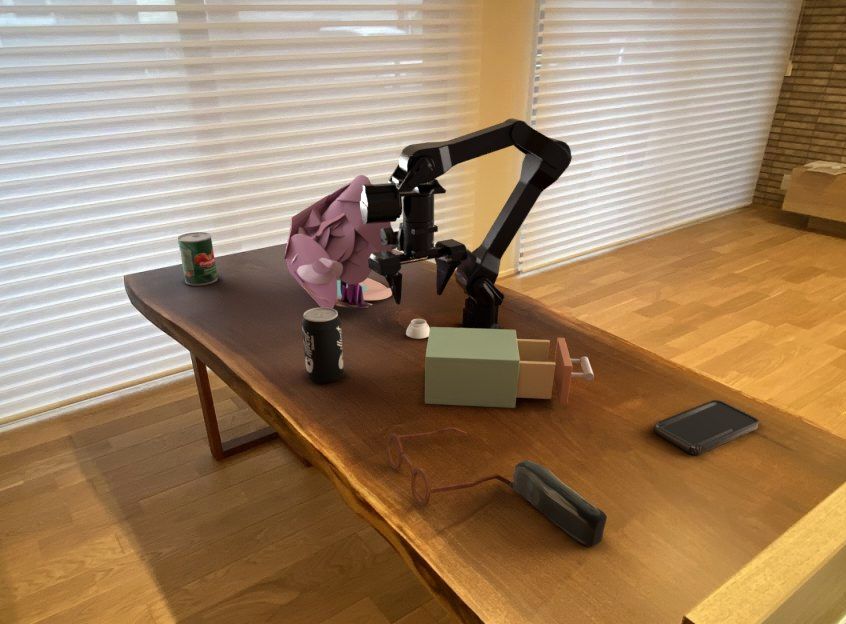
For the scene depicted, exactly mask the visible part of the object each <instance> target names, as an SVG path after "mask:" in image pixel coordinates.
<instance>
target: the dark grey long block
mask: <svg viewBox="0 0 846 624" xmlns="http://www.w3.org/2000/svg"><path fill="white" fill-rule="evenodd" d="M507 486H508V487H510V488H511V489H512V490H514V491H515V492H516V493H518V494H519V495H520V496H521V497H522V498H523V499H524V500H526V501H528V502H529V503H530V505H532V507H534V508H535V509H537V510H538V511H539V512H541V513H542V514H543V515H544V516H545V517H547V518H548V519H549V520H550V521H551V522H553V524H555V525H556V526H557V527H558V528H560V529H561V530H562V531H563V532H565V533H566V534H567V535H568V536H569V537H570V538H571V539H573V540H574V541H576V542H577V543H579V544H580V545H583V546H587V547H592V546H597V545H598V544H600V543H601V542H602V540H603V536H604V532H605V531H604V530H605V527H606V522H607V520H608V519H607V518H608V517H607V514H606V513H605V512H604V511H603V510H602V509H600V508H599V507H597V506H595V505H594V504H592V503H591V502H590V501H589V500H587V499H586V498H584V497H583V496H582V495H581V494H579V493H578V492H577V491H575V490H574V489H572V488H571V487H569V485H567V484H566V483H564V482H563V481H562V480H561V479H560V478H559V477H558V476H556V475H555V474H554V473H553V472H552V471H551V470H550V469H548V468H547V467H546V466H544V465H542V464H539V463H536V462H533V461H531V460H529V459H525V460H522V461H521V462H519V463H517V464H516V465H515V466H514V469H513V479H512V482H511V483H510V484H509V485H507Z"/></svg>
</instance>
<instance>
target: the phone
mask: <svg viewBox="0 0 846 624" xmlns="http://www.w3.org/2000/svg"><path fill="white" fill-rule="evenodd" d="M759 423H760V420H759V419H758V418H757V417H755V416H753V415H751V414H750V413H748V412H745V411H743V410H741V409H739V408H737V407H735V406H734V405H731V404H729V403H728V402H725V401H723V400H720V399H712V400H710V401H708V402H704V403H702V404H700V405H697V406H694V407H692V408H689V409H687V410H684V411H682V412H679V413H677V414H674V415H672V416H669V417H667V418H664V419H662V420H659V421H656V423H655V424H654V428H653V432H654V433H655V434H656V435H657V436H659V437H660V438H663V439H664V440H666V441H667V442H669V443H671V444H672V445H674V446H676V447H678V448H679V449H681V450H683V451H684V452H686V453H688V454H690V455H693V456H700V455H702V454H705V453H706V452H708V451H711V450H713V449H715V448H718V447H720V446H722V445H724V444H726V443H729V442H731V441H733V440H735V439H738V438H741V437H743V436H745V435H747V434H749V433H751V432H753V431H755V430H757V429H758V427H759Z"/></svg>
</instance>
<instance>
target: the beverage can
mask: <svg viewBox="0 0 846 624" xmlns="http://www.w3.org/2000/svg"><path fill="white" fill-rule="evenodd" d="M301 330H302V331H301V332H302V341H303V353H304V363H305V372H306V377H307V378H308V379H310V381H311V382H313V383H316V384H319V385H320V384H324V385H326V384H327V385H328V384H332V383H335V382H337V381H339V380H340V379H341V377H342V376H343V375H344V373H345V369H344V366H345V365H344V353H343V352H344V351H343V350H344V349H343V336H342V335H343V334H342V321H341V318H340V317H339V314H338V310H336V309H334V308H333V309H332V308H327V307H320V306H319V307H314V308H310V309H307V310H306V311H304V312H303V319H302V321H301Z"/></svg>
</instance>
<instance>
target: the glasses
mask: <svg viewBox="0 0 846 624" xmlns="http://www.w3.org/2000/svg"><path fill="white" fill-rule="evenodd" d="M450 432H452V433H455V434H457V435H459V436H463V437H466V436H467V435H468V432H467V431H464V430H462V429H460V428H456V427H454V426H449V427H443V428H439V429H437V430H433V431H429V432H420V433H419V432H418V433H411V434H400V435H398V434H397V433H390V434H389V435H388V437H387V440H386V456H387V457H386V458H387V460H388V462H389V464H390V466H391V468H392V469H395V470H399V469H400V468H401V467H402V464H403V462H404V464H406V466H407V467H408V469H409V470H410V472H411V477H410V478H411V480H410V488H411V489H410V490H411V493H412V497H413V499H414V501H415V503H416V504H417V505H418V506H419V507H425V506H427V505H428V504H429V502H430V498H431V494H436V493H443V492H449V491H456V490H461V489H462V490H463V489H469V488H474V487H476V486H479V485H480V484H482V483H484V482H488V481H491V480H498V481H499V482H502V483H503V484H505V485H507V486H508V485H509V484H510V483H511V482H513V480H511V479H509V478H507V477H505V476H503V475H501V474H499V473H493V474H489V475H485V476H482V477H479V478H477V479H475V480H472V481H467V482H459V483H453V484H445V485H439V486H433V487H431V483H430V480H429V477H428V475H427V473H426V471H425V470H424V469H423V468H421V467H415V466H414V464H413V463H412V461H411V460H410V459H409V457H408V456H407V455H406V454H404V448H403V444H402V441H407V440H416V439H426V438H432V437H435V436H438V435H442V434H445V433H450ZM392 442H396V445H397V448H398V459H397V462H396V463H395V461H394V459H393V457H392V451H391V446H392ZM417 474H420V476H421V477H422V479H423V482H424V485H425V496H424V498H423V500H422V499H421V498H420V497H419V494H418V492H417V488H416V481H417V480H416V479H417V476H418V475H417Z"/></svg>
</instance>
